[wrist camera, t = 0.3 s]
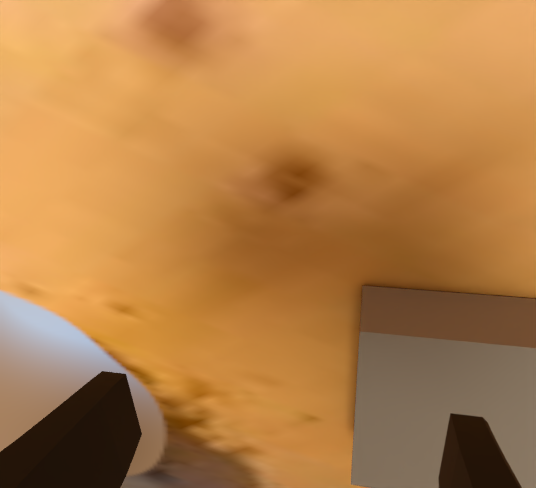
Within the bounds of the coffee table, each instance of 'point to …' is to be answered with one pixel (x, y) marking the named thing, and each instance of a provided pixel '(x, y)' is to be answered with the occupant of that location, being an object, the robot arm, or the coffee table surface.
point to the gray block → (441, 381)
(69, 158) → the coffee table surface
